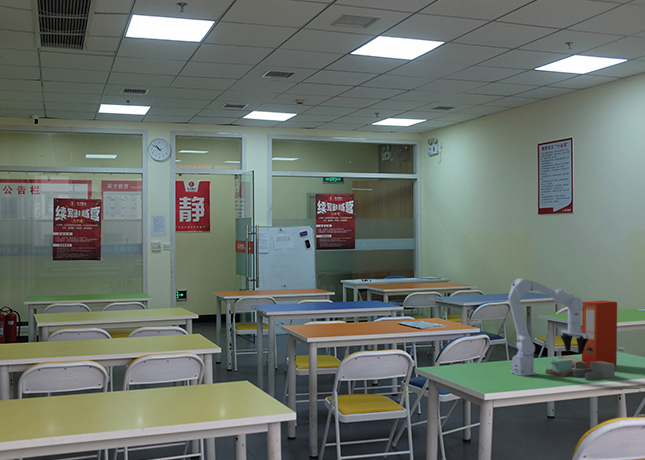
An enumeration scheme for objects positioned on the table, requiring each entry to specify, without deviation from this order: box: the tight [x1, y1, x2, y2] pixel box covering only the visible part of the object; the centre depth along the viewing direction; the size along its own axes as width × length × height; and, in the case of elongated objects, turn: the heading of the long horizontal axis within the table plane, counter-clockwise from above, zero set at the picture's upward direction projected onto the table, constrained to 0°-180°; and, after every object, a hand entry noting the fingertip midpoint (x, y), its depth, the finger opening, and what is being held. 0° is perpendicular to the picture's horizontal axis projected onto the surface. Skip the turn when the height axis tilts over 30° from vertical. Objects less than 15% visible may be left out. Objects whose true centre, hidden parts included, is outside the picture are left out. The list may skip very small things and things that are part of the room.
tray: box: [545, 368, 575, 378], centre depth 298 cm, size 13×8×2 cm, turn 114°
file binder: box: [581, 300, 618, 368], centre depth 318 cm, size 8×17×32 cm, turn 124°
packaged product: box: [557, 355, 590, 370], centre depth 314 cm, size 18×5×10 cm
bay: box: [572, 361, 616, 381], centre depth 292 cm, size 17×8×6 cm, turn 114°
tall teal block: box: [550, 358, 572, 372], centre depth 298 cm, size 9×4×6 cm, turn 115°
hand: (574, 352), depth 297 cm, fingers open, 7 cm apart
